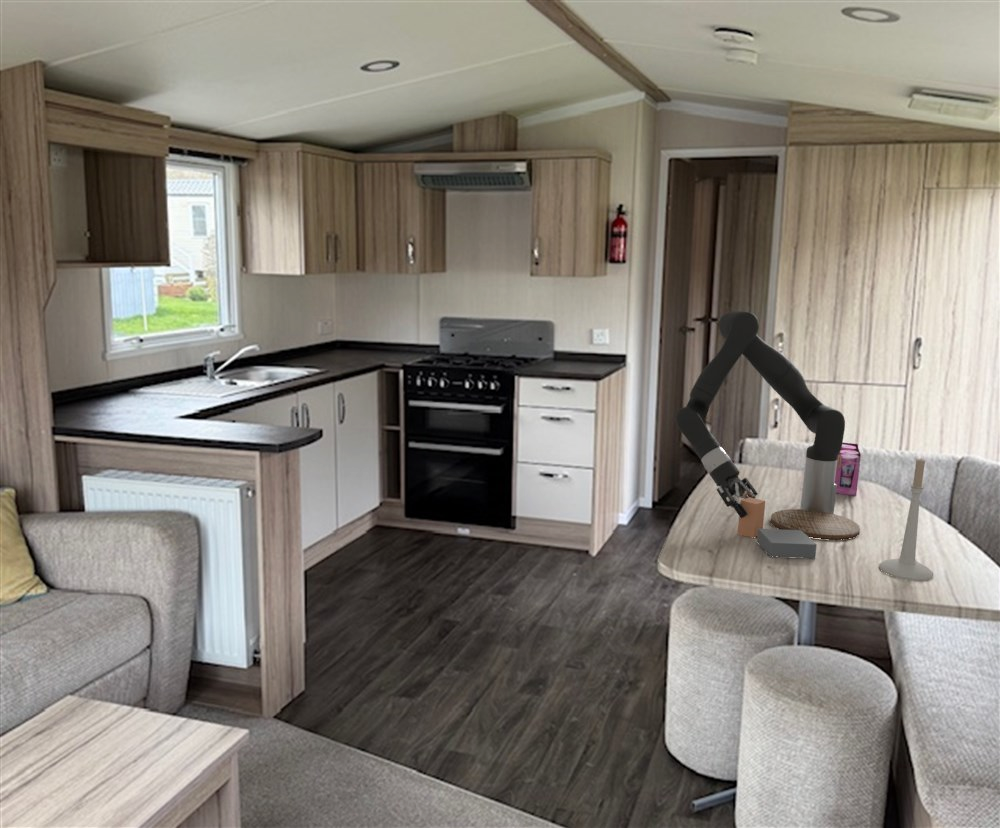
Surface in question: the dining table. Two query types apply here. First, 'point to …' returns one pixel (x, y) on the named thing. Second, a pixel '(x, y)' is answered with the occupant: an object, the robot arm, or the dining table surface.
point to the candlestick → (910, 538)
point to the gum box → (848, 469)
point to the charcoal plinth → (786, 543)
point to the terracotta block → (751, 517)
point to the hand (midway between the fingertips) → (752, 513)
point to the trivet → (816, 524)
